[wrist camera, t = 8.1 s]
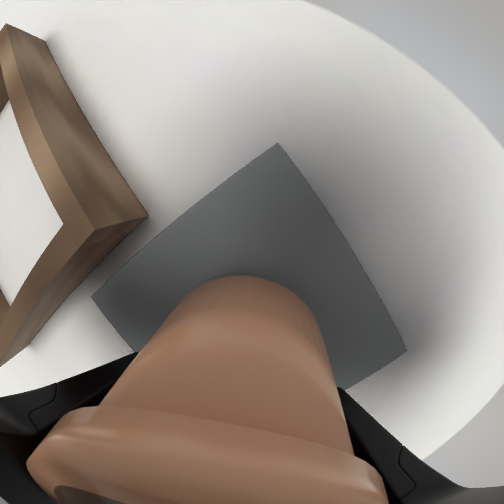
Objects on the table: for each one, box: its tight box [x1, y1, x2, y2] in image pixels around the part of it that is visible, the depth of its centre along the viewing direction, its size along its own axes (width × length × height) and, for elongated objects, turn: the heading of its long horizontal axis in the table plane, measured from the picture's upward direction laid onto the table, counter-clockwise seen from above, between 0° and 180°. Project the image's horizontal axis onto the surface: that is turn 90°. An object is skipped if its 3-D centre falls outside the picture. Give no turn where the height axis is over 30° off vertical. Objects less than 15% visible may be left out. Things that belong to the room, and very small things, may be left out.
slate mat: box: [91, 143, 407, 390], centre depth 12 cm, size 11×11×1 cm
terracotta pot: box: [26, 275, 389, 504], centre depth 6 cm, size 7×7×8 cm
